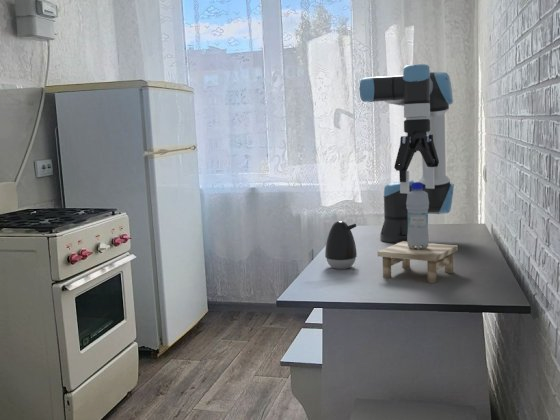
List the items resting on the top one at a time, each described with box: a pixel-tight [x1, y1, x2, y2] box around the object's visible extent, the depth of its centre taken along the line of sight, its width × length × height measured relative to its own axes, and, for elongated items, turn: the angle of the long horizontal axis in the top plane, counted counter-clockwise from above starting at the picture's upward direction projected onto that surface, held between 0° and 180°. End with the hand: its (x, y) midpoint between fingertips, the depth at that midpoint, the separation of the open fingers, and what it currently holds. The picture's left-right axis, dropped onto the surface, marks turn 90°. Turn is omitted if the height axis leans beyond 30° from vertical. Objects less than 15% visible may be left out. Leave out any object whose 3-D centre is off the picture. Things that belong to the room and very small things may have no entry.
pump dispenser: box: [324, 220, 358, 270], centre depth 197 cm, size 10×10×15 cm
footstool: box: [377, 241, 459, 284], centre depth 184 cm, size 18×18×8 cm
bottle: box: [406, 181, 430, 250], centre depth 182 cm, size 7×7×20 cm
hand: (417, 190), depth 182 cm, fingers open, 13 cm apart
